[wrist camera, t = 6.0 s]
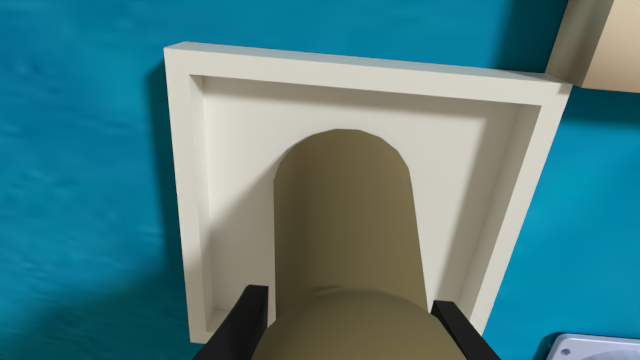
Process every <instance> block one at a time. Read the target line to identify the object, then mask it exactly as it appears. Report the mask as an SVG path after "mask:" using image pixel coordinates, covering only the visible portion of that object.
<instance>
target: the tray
mask: <svg viewBox="0 0 640 360" xmlns="http://www.w3.org/2000/svg"><path fill="white" fill-rule="evenodd" d="M164 57H165V68H166V79H167V90H168V101H169V112H170V123H171V134H172V144H173V155H174V166H175V177H176V188H177V199H178V210H179V221H180V232H181V243H182V254H183V265H184V276H185V287H186V298H187V309H188V320H189V331H190V342H193V343H204V344H206V343H207V342H208V340H209V339H210V338H211V337H212V335H213V334H214V333H215V332H216V330H217V329H218V328H219V326H220V325H221V324H222V322H223V321H224V320H225V318H226V317H227V315H228V314H229V313H230V311H231V310H232V308H233V307H234V305H235V304H236V302H237V301H238V299H239V297H240V296H241V294H242V293H243V291H244V289H245V287H246V286H248V285H249V284H251V285H263V286H269V293H268V327H269V326H270V325H271V324H272V323H273V322H274V321H275V320H276V305H275V245H274V185H273V181H274V178H275V175H276V173H277V170H278V167H279V164H280V162H281V161H282V160H283V159H284V157H285V156H286V155H287V154H288V152H289V151H290V150H291V149H292V148H293V146H295V145H297V144H298V143H300V142H301V141H303V140H305V139H306V138H308V137H309V136H311V135H313V134H317V133H320V132H324V131H328V130H332V129H356V130H362V131H364V132H367V133H370V134H373V135H375V136H378V137H381V138H382V139H383V140H385V141H386V142H387V143H389V144H390V145H391V146H392V147H394V148H395V149H396V150H397V151H398V152H399V153H400V155H401V157H402V158H403V160H404V161H405V163H406V165H407V166H408V168H409V173H410V178H411V183H412V189H413V196H414V204H415V212H416V220H417V227H418V235H419V243H420V250H421V258H422V266H423V274H424V281H425V289H426V297H427V304H428V312H429V313H430V312H431V309H432V305H433V301H434V300H441V301H453V302H454V303H455V304H456V305H457V307H458V308H459V309H460V310H461V312H462V313H463V314H464V315H465V317H466V318H467V319H468V320H469V322H470V323H471V324H472V325H473V327H474V328H475V329H476V330H477V331H478V333H479V334H480V335H481V336H482V334H483V331H484V328H485V326H486V323H487V320H488V317H489V315H490V312H491V309H492V306H493V304H494V301H495V298H496V295H497V293H498V290H499V287H500V284H501V282H502V279H503V276H504V273H505V271H506V268H507V265H508V262H509V260H510V257H511V254H512V251H513V249H514V246H515V243H516V240H517V238H518V235H519V232H520V229H521V227H522V224H523V221H524V218H525V216H526V213H527V210H528V207H529V205H530V202H531V199H532V196H533V194H534V191H535V188H536V185H537V183H538V180H539V177H540V174H541V172H542V169H543V166H544V163H545V161H546V158H547V155H548V152H549V150H550V147H551V144H552V141H553V139H554V136H555V133H556V130H557V128H558V125H559V122H560V119H561V117H562V114H563V111H564V108H565V106H566V103H567V100H568V97H569V95H570V92H571V89H572V86H573V84H571V83H568V82H565V81H563V80H560V79H558V78H555V77H552V76H550V75H547V74H544V73H533V72H522V71H511V70H499V69H488V68H477V67H466V66H454V65H443V64H432V63H421V62H410V61H398V60H387V59H376V58H365V57H353V56H342V55H331V54H320V53H308V52H297V51H286V50H275V49H264V48H252V47H241V46H230V45H219V44H207V43H196V42H185V41H184V42H181V43H178V44H175V45H172V46H169V47H165V48H164Z"/></svg>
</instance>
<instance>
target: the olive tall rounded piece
mask: <svg viewBox="0 0 640 360" xmlns="http://www.w3.org/2000/svg"><path fill="white" fill-rule="evenodd" d="M273 185H274V245H275V305H276V320H275V321H274V322H273V323H272V324H271V325H270V326H269V327H268V328H267V329H266V330H265V331H264V333H263V335H262V337H261V339H260V341H259V343H258V345H257V347H256V349H255V352H254V354H253V356H252V358H251V360H467V359H466V358H465V356H464V355H463V353H462V352H461V350H460V349H459V347H458V346H457V345H456V343H455V342H454V340H453V339H452V337H451V336H450V335H449V333H448V332H447V331H446V329H445V328H444V326H443V325H442V324H441V322H440V321H439V320H438V318H436V317H435V316H433V315H432V314H430V313H429V312H428V304H427V297H426V289H425V281H424V274H423V266H422V258H421V250H420V243H419V235H418V227H417V220H416V212H415V204H414V196H413V189H412V183H411V178H410V173H409V168H408V166H407V165H406V163H405V161H404V160H403V158H402V157H401V155H400V153H399V152H398V151H397V150H396V149H395V148H394V147H392V146H391V145H390V144H389V143H387V142H386V141H385V140H383V139H382V138H381V137H378V136H375V135H373V134H370V133H367V132H364V131H362V130H356V129H332V130H328V131H324V132H320V133H317V134H313V135H311V136H309V137H308V138H306V139H305V140H303V141H301V142H300V143H298V144H297V145H295V146H293V148H292V149H291V150H290V151H289V152H288V154H287V155H286V156H285V157H284V159H283V160H282V161H281V162H280V164H279V167H278V170H277V173H276V175H275V178H274V181H273Z"/></svg>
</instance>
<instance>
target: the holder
mask: <svg viewBox="0 0 640 360" xmlns="http://www.w3.org/2000/svg"><path fill="white" fill-rule="evenodd" d="M545 74H547V75H550V76H552V77H555V78H558V79H560V80H563V81H565V82H568V83H571V84H573V85H576V86H578V87H581V88H590V89H602V90H613V91H624V92H635V93H640V0H569V1H568V4H567V7H566V10H565V13H564V16H563V19H562V22H561V25H560V28H559V31H558V34H557V37H556V40H555V43H554V46H553V49H552V52H551V56H550V59H549V62H548V65H547V68H546V71H545Z"/></svg>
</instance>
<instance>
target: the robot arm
mask: <svg viewBox="0 0 640 360" xmlns="http://www.w3.org/2000/svg"><path fill="white" fill-rule="evenodd" d="M268 293H269V286H263V285H251V284H249V285H248V286H246V287H245V289H244V291H243V293H242V294H241V296H240V297H239V299H238V301H237V302H236V304H235V305H234V307H233V308H232V310H231V311H230V313H229V314H228V315H227V317H226V318H225V320H224V321H223V322H222V324H221V325H220V326H219V328H218V329H217V330H216V332H215V333H214V334H213V335H212V337H211V338H210V339H209V340H208V342H207V343H206V344H205V345H204V346H203V348H202V349H201V350H200V351H199V352H198V353H197V355H196V356H195V357H194V358H193V359H192V360H251V358H252V356H253V354H254V352H255V349H256V347H257V345H258V343H259V341H260V339H261V337H262V335H263V333H264V331H265V330H266V329H267V328H268ZM430 314H432V315H433V316H435V317H436V318H438V320H439V321H440V322H441V324H442V325H443V326H444V328H445V329H446V331H447V332H448V333H449V335H450V336H451V337H452V339H453V340H454V342H455V343H456V345H457V346H458V347H459V349H460V350H461V352H462V353H463V355H464V356H465V358H466V359H467V360H501V359H500V358H499V357H498V355H497V354H496V353H495V352H494V351H493V350H492V348H491V347H490V346H489V345H488V344H487V342H486V341H485V340H484V339H483V338H482V336H481V335H480V334H479V333H478V331H477V330H476V329H475V328H474V327H473V325H472V324H471V323H470V322H469V320H468V319H467V318H466V317H465V315H464V314H463V313H462V312H461V310H460V309H459V308H458V307H457V305H456V304H455V303H454V302H453V301H441V300H434V301H433V305H432V309H431V312H430ZM546 360H640V340H637V339H626V338H614V337H603V336H591V335H579V334H568V333H567V334H562V335H560V336H558V337H557V338H556V340H555V342H554V344H553V346H552V348H551V350H550V352H549V355H548V357H547V359H546Z"/></svg>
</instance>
